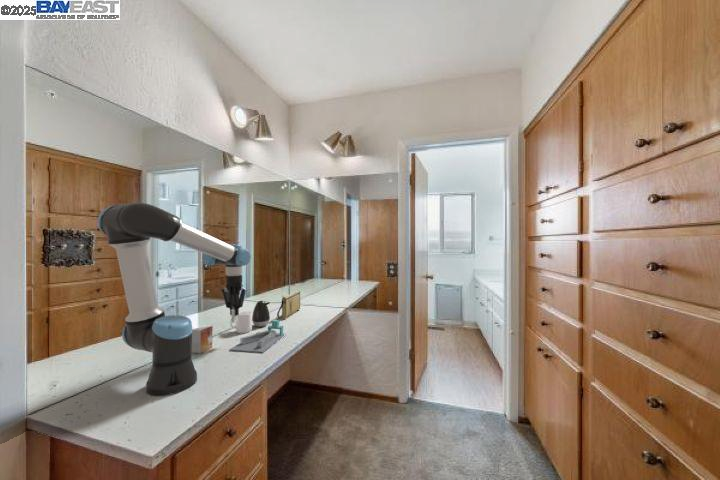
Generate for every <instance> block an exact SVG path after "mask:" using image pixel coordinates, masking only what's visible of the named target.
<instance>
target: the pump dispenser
mask: <svg viewBox="0 0 720 480" xmlns="http://www.w3.org/2000/svg"><path fill="white" fill-rule="evenodd" d="M268 305H270V301H268V302H266V301H264V300H259V301H258V302H256V304H255V306H254V308H253V310H252V311H253V312H252V325H254V326H255V327H258V328H262V327H265V326H267V325H268V324H269V322H270V319H271V315H270V311H269V307H268Z"/></svg>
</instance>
